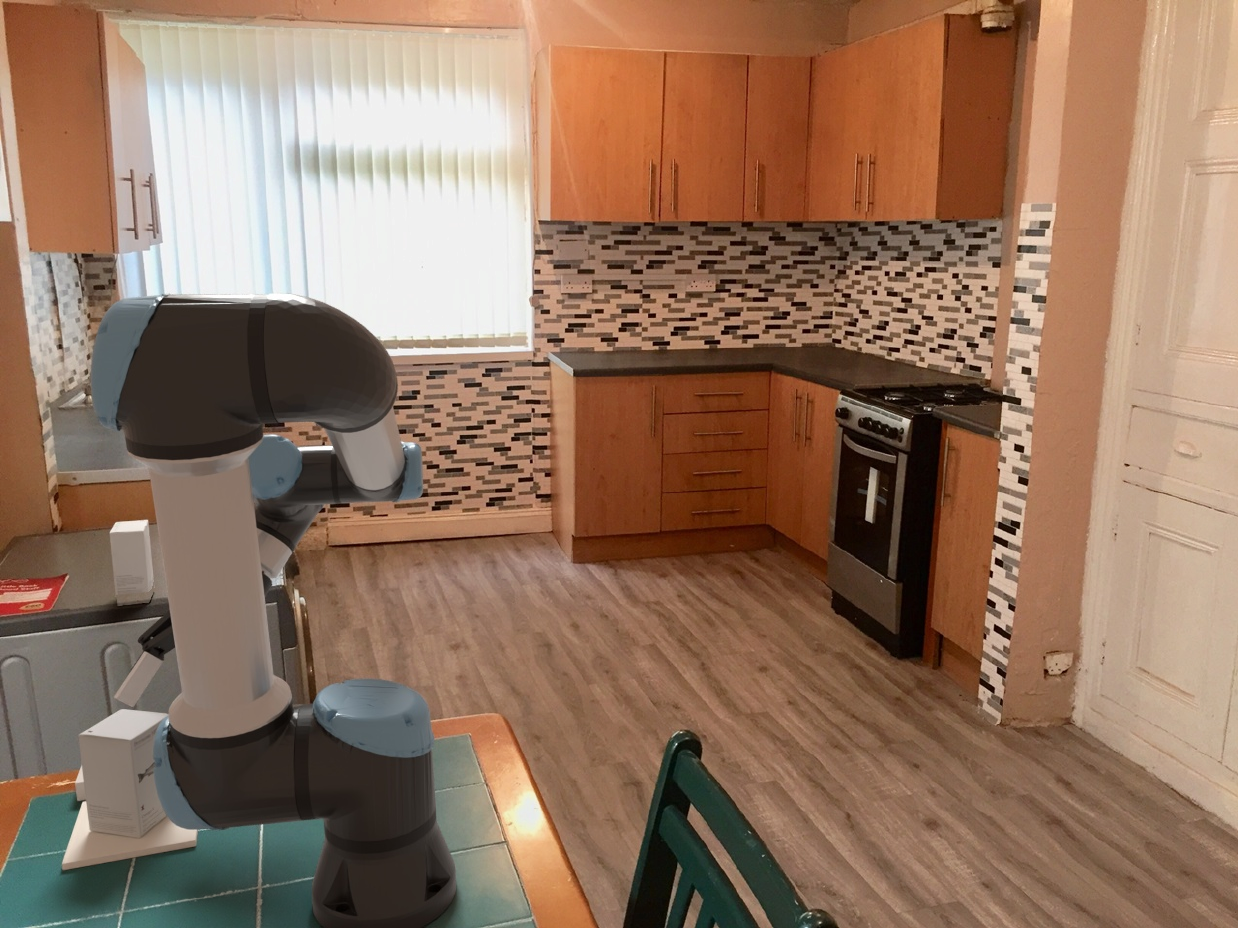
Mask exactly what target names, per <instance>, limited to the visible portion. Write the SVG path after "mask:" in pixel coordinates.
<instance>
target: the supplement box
mask: <svg viewBox="0 0 1238 928" xmlns="http://www.w3.org/2000/svg"><path fill="white" fill-rule="evenodd" d="M167 716H169V713H165V712H157V711H147V710H145V711H144V710H137V709H135V710H133V709H125V708H121V709H118V711H116V712H114V713H112V714H111V715H109V716H107V717H106V718H104V719H102V720H101V721H99V722H97V723H96V724H94V725H92V726H91V727H90V728H88V729H86V730H84V731H82V732H81V733H79V734H78V736H77V737H78V745H79V754H80V761H81V765H82V771H83V779H84V788H85V795H86V800H85V801H86V804H87V812H88V821H89V830H90V831H95V832H101V833H108V834H115V835H121V836H128V837H135V838H141V837H142V836H143V835H144V834H145V833H146V832H147V831H149V830H150V829H151V828H152V827H153V826H155V825H156V824H157V823H158V822H160V821H161V820H162V819H163V818H165V817H166V816H167V815H166V814H165V812H164V810H163V808H162V806H161V803H160V800H159V798H158V794H157V791H156V786H155V781H154V772H153V769H154V768H155V761H154V759H153V745H154V739H155V735H156V731H157V729H158V726H159V724H160V723H161V721H162V720H163V719H164V718H165V717H167Z"/></svg>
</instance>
